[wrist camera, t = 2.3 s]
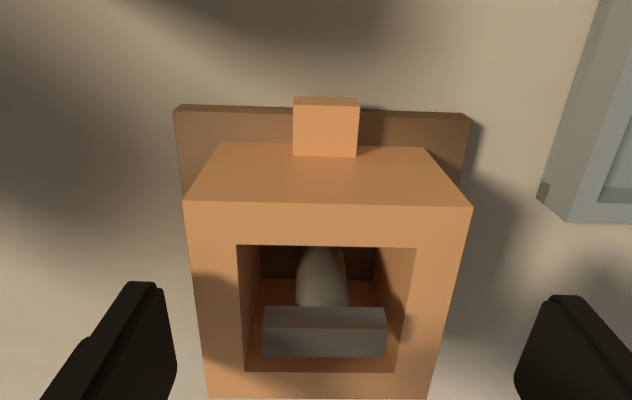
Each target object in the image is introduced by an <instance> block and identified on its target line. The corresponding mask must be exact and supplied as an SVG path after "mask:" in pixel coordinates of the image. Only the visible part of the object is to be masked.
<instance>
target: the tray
mask: <svg viewBox="0 0 632 400" xmlns="http://www.w3.org/2000/svg"><path fill="white" fill-rule="evenodd" d="M536 198H537V199H538V200H539V201H540V202H542V203H543V204H544V205H545V206H547V207H548V208H549V209H550V210H551V211H553V212H554V213H555V214H556V215H557V216H559V217H560V218H561V219H562V220H563V221H565V222H566V223H609V224H632V0H600V1H599V4H598V7H597V11H596V14H595V17H594V20H593V23H592V26H591V29H590V32H589V35H588V38H587V41H586V45H585V48H584V51H583V54H582V57H581V60H580V63H579V66H578V69H577V72H576V75H575V79H574V82H573V85H572V88H571V91H570V94H569V97H568V100H567V103H566V106H565V109H564V113H563V116H562V119H561V122H560V125H559V128H558V131H557V134H556V137H555V140H554V143H553V147H552V150H551V153H550V156H549V159H548V162H547V165H546V168H545V171H544V174H543V177H542V181H541V184H540V187H539V190H538V193H537V196H536Z"/></svg>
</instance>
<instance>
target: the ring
mask: <svg viewBox="0 0 632 400" xmlns="http://www.w3.org/2000/svg"><path fill="white" fill-rule="evenodd" d="M359 115H360V105H359V103H358V102H357V100H356V98H330V97H299V96H294V102H293V144H288V143H253V142H220V143H219V145H218V146H217V148H216V149H215V151H214V152H213V154H212V155H211V157H210V158H209V160H208V161H207V163H206V164H205V166H204V167H203V169H202V170H201V172H200V173H199V175H198V177H197V178H196V180H195V181H194V183H193V184H192V186H191V187H190V189H189V190H188V192H187V193H186V195H185V196H184V198H183V199H182V206H183V214H184V221H185V229H186V236H187V244H188V251H189V259H190V266H191V274H192V281H193V289H194V296H195V304H196V311H197V319H198V326H199V334H200V341H201V349H202V356H203V364H204V371H205V379H206V386H207V394H208V398H292V399H427V395H428V391H429V387H430V383H431V379H432V375H433V371H434V367H435V363H436V359H437V355H438V351H439V347H440V343H441V339H442V335H443V331H444V327H445V322H446V318H447V314H448V310H449V306H450V302H451V298H452V294H453V290H454V286H455V282H456V278H457V274H458V270H459V266H460V262H461V258H462V254H463V249H464V245H465V241H466V237H467V233H468V229H469V225H470V221H471V217H472V213H473V209H474V207H473V206H472V204H471V203H470V202H469V201H468V200H467V198H466V197H465V196H464V195H463V194H462V192H461V191H460V190H459V189H458V188H457V187H456V185H455V184H454V183H453V182H452V181H451V179H450V178H449V177H448V176H447V175H446V173H445V172H444V171H443V170H442V169H441V167H440V166H439V165H438V164H437V163H436V161H435V160H434V159H433V158H432V157H431V156H430V154H429V153H428V152H427V151H426V150H425V148H424V147H393V146H358V145H357V138H358V127H359ZM259 245H294V246H345V247H377V248H376V256H375V264H374V272H373V280H372V281H356V280H347V284H348V291H349V297H350V304H351V307H383V308H384V312H385V316H386V320H387V324H388V328H389V332H388V338H387V345H386V351H385V357H384V358H358V357H262V330H261V327H262V320H263V313H264V307H265V306H295V293H296V279H261V276H260V248H259Z"/></svg>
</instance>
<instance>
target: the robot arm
mask: <svg viewBox="0 0 632 400" xmlns="http://www.w3.org/2000/svg"><path fill="white" fill-rule="evenodd" d="M176 373H177V360H176V355H175V350H174V344H173V339H172V334H171V328H170V323H169V318H168V312H167V307H166V302H165V297H164V292H163V289H162V288H157V286H156V284H155V283H154V282H142V281H129V282H127V283H126V285H125V286H124V287H123V289H122V290H121V292H120V293H119V295H118V296H117V298H116V299H115V301H114V302H113V303H112V305H111V306H110V308H109V309H108V311H107V312H106V314H105V315H104V317H103V318H102V320H101V321H100V323H99V324H98V325H97V327H96V328H95V330H94V331H93V333H92V334H91V336H90V337H86V338H85V339H83V340H82V341H81V342H80V343H79V344H78V345H77V347H76V348H75V349H74V351H73V352H72V354H71V355H70V357H69V358H68V359H67V361H66V362H65V364H64V365H63V367H62V368H61V369H60V371H59V372H58V374H57V375H56V377H55V378H54V379H53V381H52V382H51V384H50V385H49V387H48V388H47V389H46V391H45V392H44V394H43V395H42V397H41V398H40V399H39V400H167V399H168V396H169V394H170V391H171V388H172V386H173V383H174V381H175V377H176ZM514 384H515V388H516V390H517V392H518V394H519V396H520V398H521V400H632V353H631V351H630V350H629V349H628V348H627V347H626V346H625V345H624V344H623V342H622V341H621V340H620V339H619V338H618V337H617V336H616V335H615V334H614V332H613V331H612V330H611V329H610V328H609V327H608V326H607V325H606V323H605V322H604V321H603V320H602V319H601V318H600V317H599V316H598V314H597V313H596V312H595V311H594V310H593V309H592V308H591V307H590V305H589V304H588V303H587V302H586V301H585V300H584V299H583V298H582V297H580V296H575V295H552V296H551V297H550V298H549V299H548V301H544V302H543V304H542V305H541V308H540V310H539V313H538V315H537V318H536V320H535V323H534V325H533V328H532V330H531V333H530V335H529V338H528V340H527V343H526V345H525V348H524V350H523V353H522V355H521V358H520V360H519V363H518V365H517V368H516V370H515V373H514Z"/></svg>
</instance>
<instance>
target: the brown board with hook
mask: <svg viewBox="0 0 632 400" xmlns="http://www.w3.org/2000/svg"><path fill="white" fill-rule="evenodd" d="M172 114H173V121H174V129H175V137H176V144H177V152H178V159H179V167H180V175H181V182H182V190H183V198H184V196H185V195H186V193H187V192H188V190H189V189H190V187H191V186H192V184H193V183H194V181H195V180H196V178H197V177H198V175H199V173H200V172H201V170H202V169H203V167H204V166H205V164H206V163H207V161H208V160H209V158H210V157H211V155H212V154H213V152H214V151H215V149H216V148H217V146H218V145H219V143H220V142H253V143H288V144H293V108H287V107H255V106H223V105H192V104H181V105H179V106H178V107H177V108H175V109H174V110H173V111H172ZM471 125H472V120H471V119H470V118H468V117H467V116H465V115H464V114H463V113H445V112H413V111H381V110H360V115H359V127H358V138H357V145H358V146H393V147H424V148H425V150H426V151H427V152H428V153H429V154H430V156H431V157H432V158H433V159H434V160H435V161H436V163H437V164H438V165H439V166H440V167H441V169H442V170H443V171H444V172H445V173H446V175H447V176H448V177H449V178H450V179H451V181H452V182H453V183H454V184H455V185H456V187H457V188H458V184H459V179H460V175H461V170H462V166H463V161H464V157H465V152H466V148H467V143H468V139H469V134H470V129H471ZM259 248H260V276H261V279H296V293H295V306H265V307H264V313H263V320H262V327H261V330H262V357H358V358H384V357H385V351H386V345H387V338H388V332H389V328H388V324H387V320H386V316H385V312H384V308H383V307H351V304H350V297H349V291H348V284H347V280H356V281H372V280H373V272H374V264H375V256H376V248H377V247H345V246H294V245H259Z"/></svg>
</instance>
